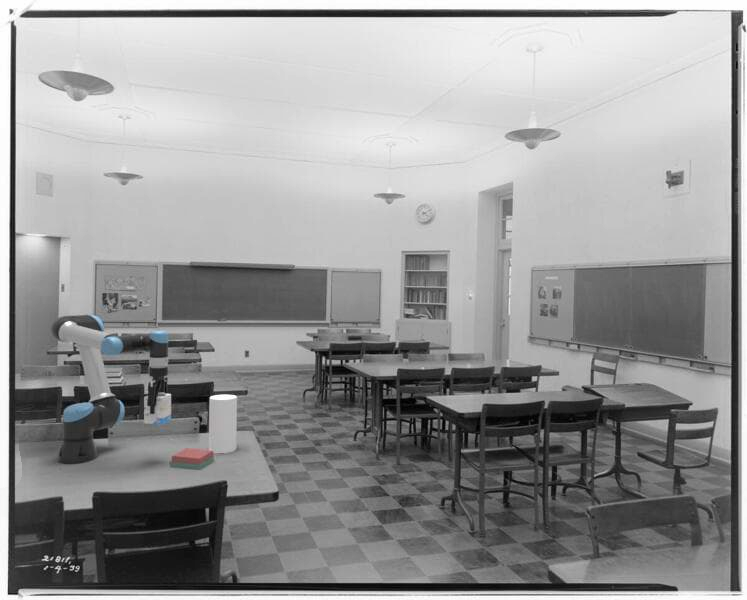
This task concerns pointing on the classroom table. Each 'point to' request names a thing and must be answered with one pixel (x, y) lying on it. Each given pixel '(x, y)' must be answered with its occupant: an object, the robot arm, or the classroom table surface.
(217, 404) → the cylinder
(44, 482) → the classroom table surface
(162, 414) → the ink box
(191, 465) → the book stack
